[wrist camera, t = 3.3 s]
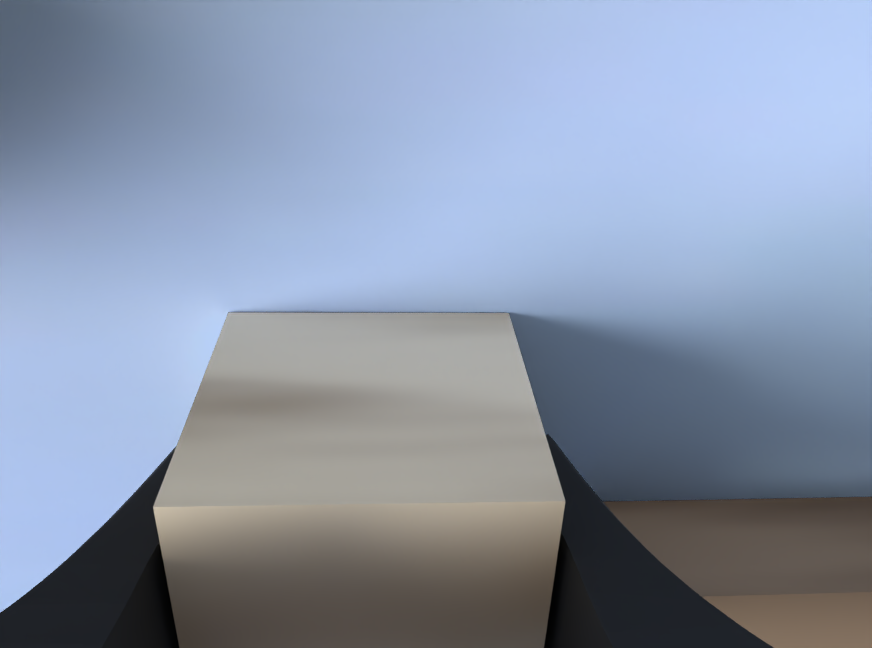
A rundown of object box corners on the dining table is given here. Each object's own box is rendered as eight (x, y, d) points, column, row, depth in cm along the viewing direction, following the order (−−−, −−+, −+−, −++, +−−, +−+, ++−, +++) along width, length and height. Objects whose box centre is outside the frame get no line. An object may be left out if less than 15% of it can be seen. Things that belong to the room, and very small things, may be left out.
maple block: (490, 521, 16) (528, 749, 12) (251, 525, 16) (200, 760, 12) (508, 312, 14) (565, 501, 10) (228, 312, 14) (153, 507, 9)
